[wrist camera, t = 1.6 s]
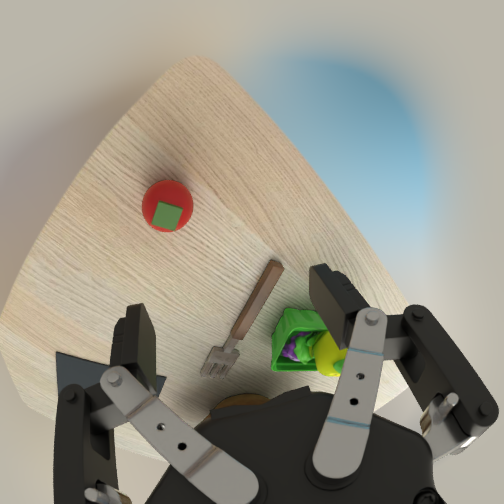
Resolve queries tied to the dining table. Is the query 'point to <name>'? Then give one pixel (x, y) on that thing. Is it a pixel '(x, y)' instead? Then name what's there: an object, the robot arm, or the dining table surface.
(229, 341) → the fork
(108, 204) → the dining table surface
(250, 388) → the dining table surface
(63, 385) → the placemat
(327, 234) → the dining table surface
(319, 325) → the fruit basket
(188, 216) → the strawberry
